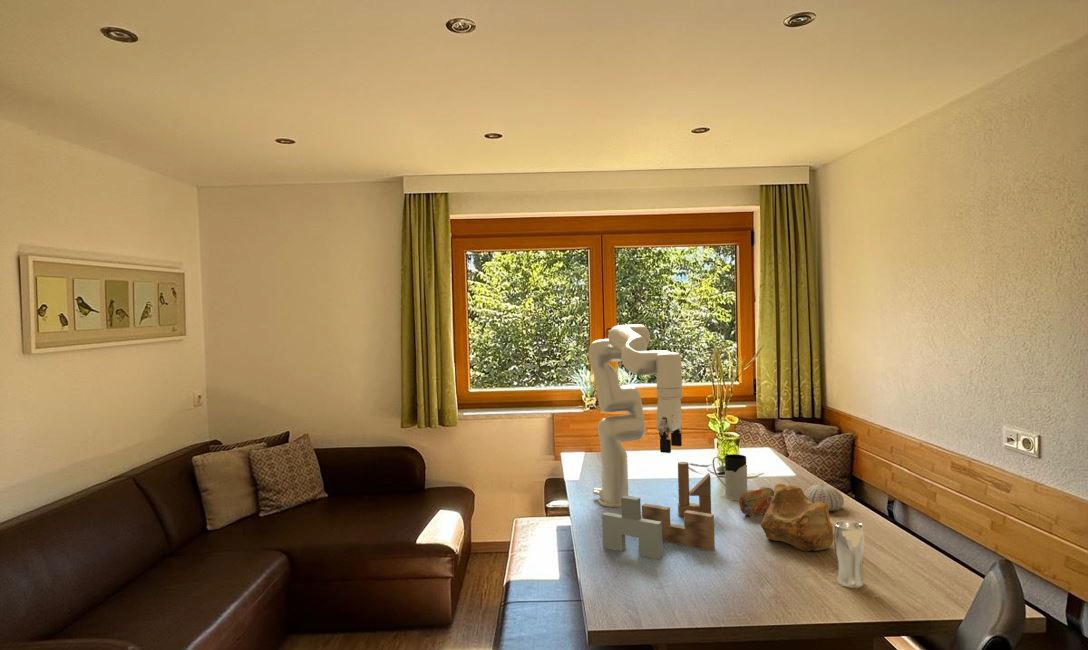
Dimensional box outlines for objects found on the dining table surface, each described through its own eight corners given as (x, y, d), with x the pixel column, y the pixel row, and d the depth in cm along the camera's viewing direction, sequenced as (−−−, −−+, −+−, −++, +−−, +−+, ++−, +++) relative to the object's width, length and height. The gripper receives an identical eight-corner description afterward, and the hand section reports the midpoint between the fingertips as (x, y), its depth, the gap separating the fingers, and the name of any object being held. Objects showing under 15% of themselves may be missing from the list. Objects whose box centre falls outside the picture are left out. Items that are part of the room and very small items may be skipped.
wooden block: (711, 517, 213) (710, 464, 212) (679, 516, 214) (677, 464, 213) (710, 513, 216) (708, 461, 216) (678, 513, 218) (676, 461, 217)
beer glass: (829, 578, 164) (828, 520, 163) (855, 576, 164) (854, 519, 164) (844, 589, 157) (843, 530, 156) (871, 588, 157) (870, 528, 157)
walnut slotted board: (642, 537, 196) (641, 505, 196) (645, 534, 198) (644, 503, 198) (712, 550, 184) (711, 516, 184) (714, 547, 186) (713, 514, 186)
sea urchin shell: (800, 511, 216) (799, 488, 216) (804, 500, 228) (803, 477, 228) (843, 516, 210) (842, 492, 209) (844, 504, 222) (844, 481, 221)
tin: (744, 518, 210) (744, 493, 210) (737, 515, 213) (737, 491, 213) (777, 510, 217) (776, 486, 217) (770, 508, 220) (769, 484, 220)
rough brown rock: (746, 532, 200) (742, 486, 199) (794, 523, 203) (790, 478, 201) (787, 564, 177) (783, 512, 176) (840, 553, 180) (836, 502, 179)
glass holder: (740, 502, 227) (739, 460, 227) (706, 494, 238) (706, 454, 237) (753, 496, 233) (752, 456, 233) (720, 489, 244) (719, 450, 243)
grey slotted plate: (603, 547, 189) (601, 494, 189) (606, 544, 191) (605, 492, 191) (659, 559, 179) (657, 503, 179) (662, 556, 181) (661, 501, 181)
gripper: (667, 389, 201) (669, 442, 201) (647, 396, 186) (649, 454, 186) (690, 389, 197) (692, 444, 197) (671, 397, 182) (673, 456, 182)
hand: (671, 449), depth 192 cm, fingers open, 9 cm apart
